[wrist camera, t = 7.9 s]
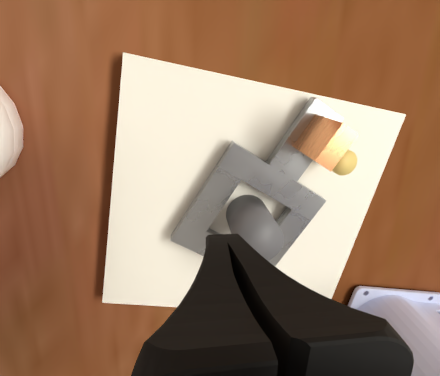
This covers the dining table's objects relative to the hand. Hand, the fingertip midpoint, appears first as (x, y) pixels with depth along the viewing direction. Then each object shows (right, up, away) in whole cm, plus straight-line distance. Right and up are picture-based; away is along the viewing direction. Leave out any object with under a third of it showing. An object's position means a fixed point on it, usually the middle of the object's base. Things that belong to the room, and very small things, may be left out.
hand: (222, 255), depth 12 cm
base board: (+2, +1, +11) cm, 11 cm away
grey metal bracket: (+3, +3, +9) cm, 10 cm away
